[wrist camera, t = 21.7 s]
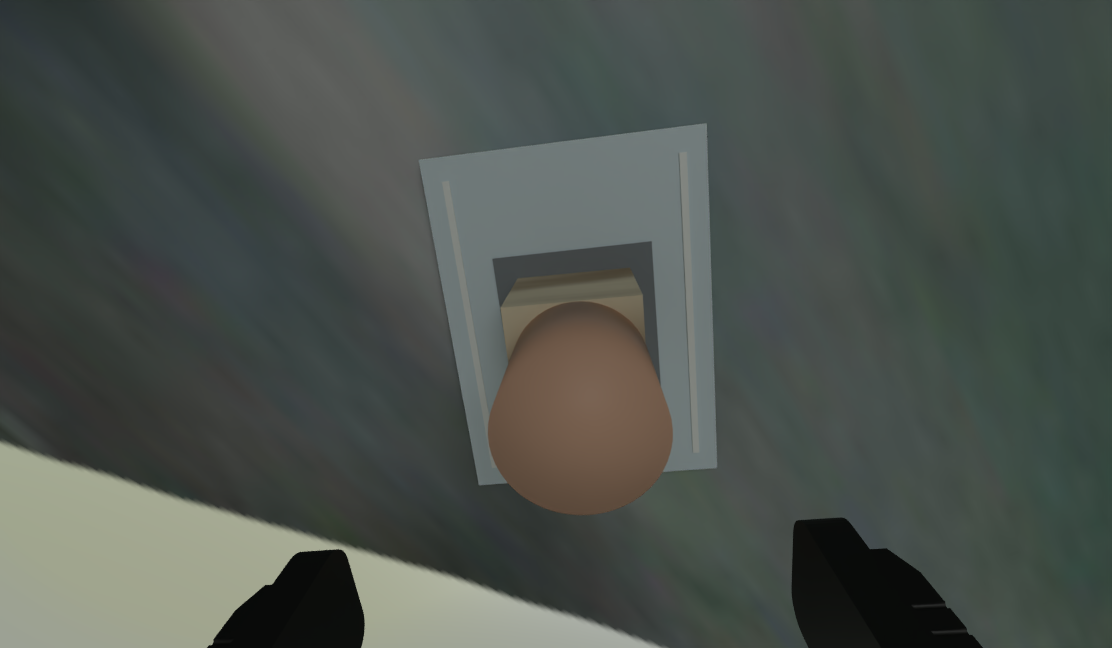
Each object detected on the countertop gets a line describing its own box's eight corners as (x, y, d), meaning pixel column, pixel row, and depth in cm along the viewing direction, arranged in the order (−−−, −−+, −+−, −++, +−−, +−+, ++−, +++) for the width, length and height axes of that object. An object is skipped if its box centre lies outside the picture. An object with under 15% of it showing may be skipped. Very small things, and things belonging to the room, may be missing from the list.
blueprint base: (425, 160, 23) (417, 159, 22) (701, 125, 22) (707, 123, 21) (482, 473, 27) (478, 486, 26) (712, 456, 26) (717, 469, 25)
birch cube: (517, 278, 23) (500, 307, 18) (630, 267, 22) (642, 294, 18) (530, 381, 24) (518, 433, 20) (636, 372, 24) (650, 424, 19)
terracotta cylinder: (502, 309, 18) (473, 359, 13) (644, 294, 18) (667, 341, 13) (522, 434, 20) (502, 521, 15) (653, 423, 19) (677, 508, 14)
